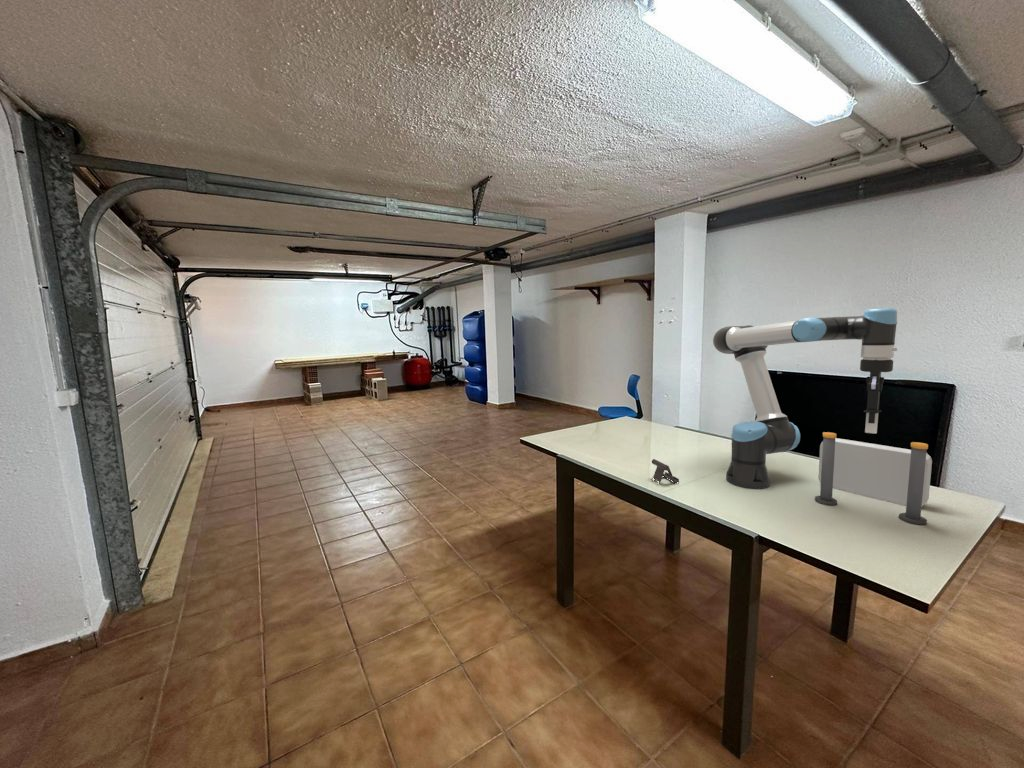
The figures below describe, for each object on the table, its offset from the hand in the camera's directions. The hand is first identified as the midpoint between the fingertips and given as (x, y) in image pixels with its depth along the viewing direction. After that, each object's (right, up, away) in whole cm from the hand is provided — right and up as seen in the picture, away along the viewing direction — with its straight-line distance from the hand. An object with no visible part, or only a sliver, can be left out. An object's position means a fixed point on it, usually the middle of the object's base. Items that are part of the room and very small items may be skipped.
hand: (870, 432), depth 125 cm
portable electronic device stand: (-53, -25, +35) cm, 68 cm away
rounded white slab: (+13, -24, +15) cm, 31 cm away
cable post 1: (-6, -25, +10) cm, 28 cm away
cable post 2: (+8, -26, -5) cm, 28 cm away
